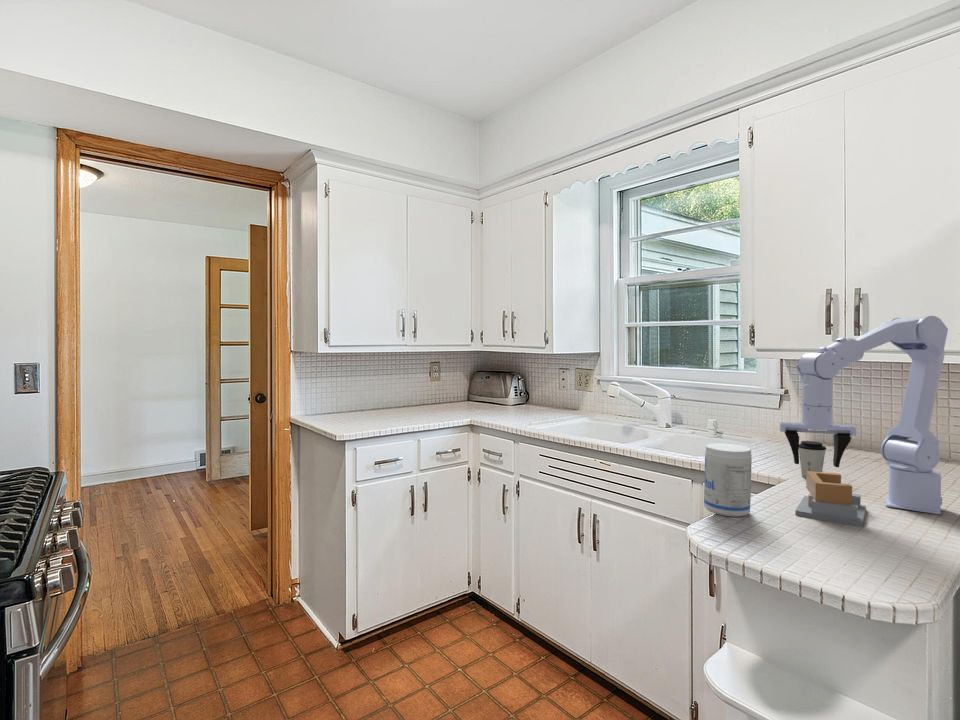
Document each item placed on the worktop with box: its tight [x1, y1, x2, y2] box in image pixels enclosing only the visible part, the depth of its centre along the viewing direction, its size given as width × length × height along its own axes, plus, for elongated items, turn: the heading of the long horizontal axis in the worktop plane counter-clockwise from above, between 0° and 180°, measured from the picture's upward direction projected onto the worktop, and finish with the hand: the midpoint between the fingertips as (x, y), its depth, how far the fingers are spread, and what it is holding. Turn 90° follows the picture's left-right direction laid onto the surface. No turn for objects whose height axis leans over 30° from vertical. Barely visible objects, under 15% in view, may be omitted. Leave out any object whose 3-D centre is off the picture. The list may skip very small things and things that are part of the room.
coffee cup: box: [799, 440, 827, 479], centre depth 147 cm, size 7×7×10 cm
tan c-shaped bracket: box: [805, 471, 853, 505], centre depth 117 cm, size 7×12×4 cm, turn 156°
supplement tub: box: [703, 442, 753, 518], centre depth 117 cm, size 10×10×15 cm
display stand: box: [795, 492, 867, 528], centre depth 116 cm, size 12×14×4 cm
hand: (816, 464), depth 118 cm, fingers open, 7 cm apart
